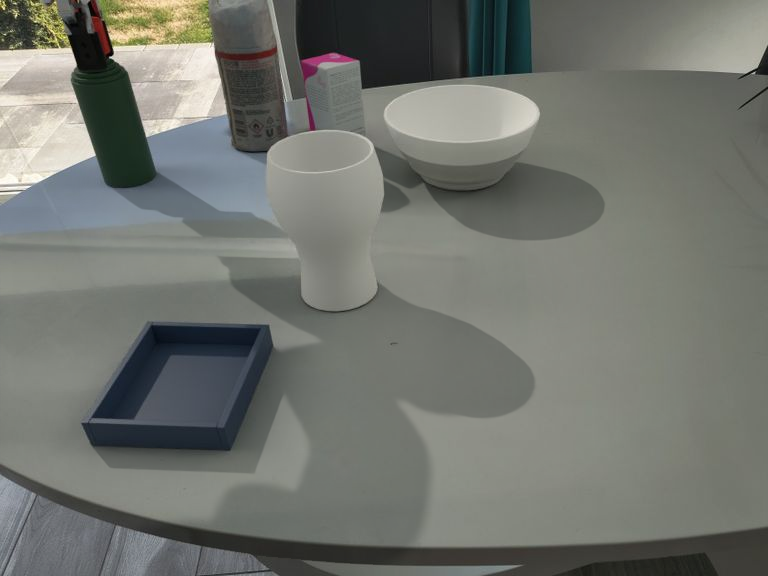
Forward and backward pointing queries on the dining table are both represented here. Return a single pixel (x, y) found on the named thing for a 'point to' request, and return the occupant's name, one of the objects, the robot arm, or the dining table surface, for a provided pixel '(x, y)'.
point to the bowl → (461, 133)
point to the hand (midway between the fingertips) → (96, 61)
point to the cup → (328, 212)
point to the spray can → (249, 72)
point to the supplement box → (334, 93)
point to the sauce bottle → (114, 125)
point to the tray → (181, 387)
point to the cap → (101, 33)
